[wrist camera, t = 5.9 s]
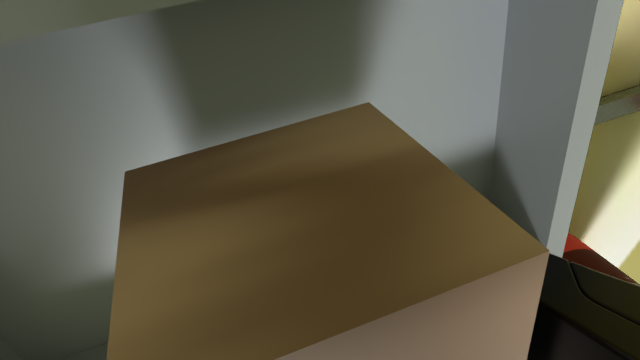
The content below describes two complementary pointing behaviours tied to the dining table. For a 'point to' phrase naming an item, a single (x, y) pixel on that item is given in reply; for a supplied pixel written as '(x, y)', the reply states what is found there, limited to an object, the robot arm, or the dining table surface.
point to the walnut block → (319, 253)
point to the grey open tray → (267, 116)
